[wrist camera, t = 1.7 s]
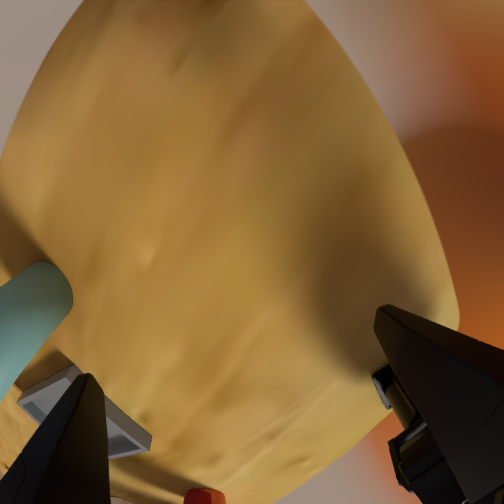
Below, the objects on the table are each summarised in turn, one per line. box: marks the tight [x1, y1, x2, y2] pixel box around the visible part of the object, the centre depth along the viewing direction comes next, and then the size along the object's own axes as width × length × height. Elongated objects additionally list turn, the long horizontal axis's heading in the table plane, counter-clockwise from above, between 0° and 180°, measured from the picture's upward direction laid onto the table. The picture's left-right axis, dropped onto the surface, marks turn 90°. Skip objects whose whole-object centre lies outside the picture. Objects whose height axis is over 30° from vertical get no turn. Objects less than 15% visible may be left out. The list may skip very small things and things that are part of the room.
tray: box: [16, 364, 152, 459], centre depth 23 cm, size 11×11×2 cm
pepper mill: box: [0, 261, 73, 402], centre depth 14 cm, size 5×5×12 cm
